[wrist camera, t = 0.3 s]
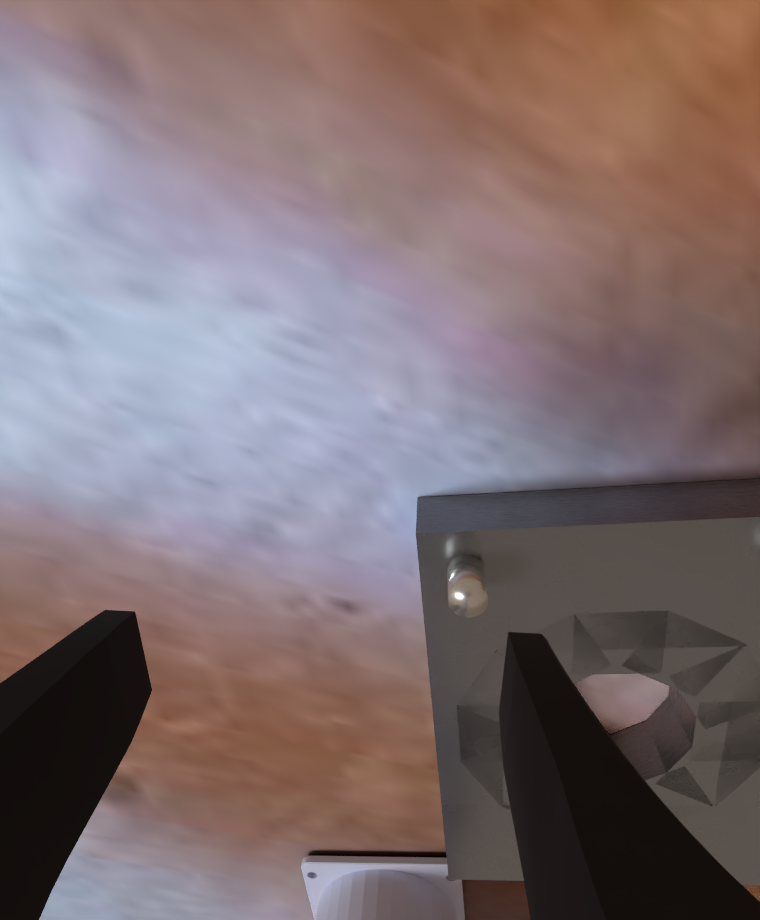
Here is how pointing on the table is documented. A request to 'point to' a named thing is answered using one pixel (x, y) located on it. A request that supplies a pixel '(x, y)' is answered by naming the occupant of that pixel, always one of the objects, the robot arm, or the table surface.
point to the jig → (600, 646)
